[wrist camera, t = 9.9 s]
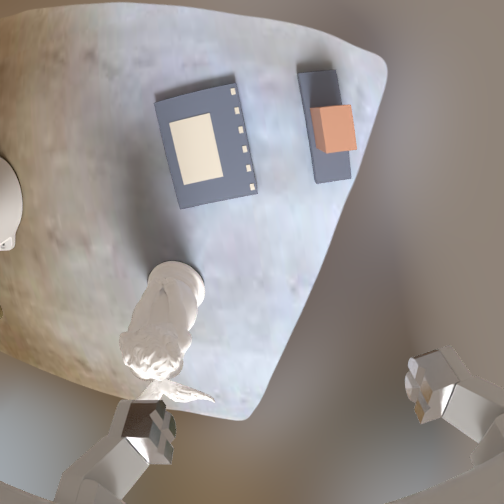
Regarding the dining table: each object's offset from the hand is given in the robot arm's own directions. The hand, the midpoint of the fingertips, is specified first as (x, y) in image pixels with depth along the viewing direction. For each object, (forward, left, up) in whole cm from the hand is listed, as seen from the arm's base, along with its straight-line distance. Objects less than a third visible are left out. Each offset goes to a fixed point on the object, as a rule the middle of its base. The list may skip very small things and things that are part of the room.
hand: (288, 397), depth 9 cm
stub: (+10, +5, -33) cm, 35 cm away
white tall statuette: (-13, -15, -33) cm, 39 cm away
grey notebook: (-5, +5, -33) cm, 34 cm away
